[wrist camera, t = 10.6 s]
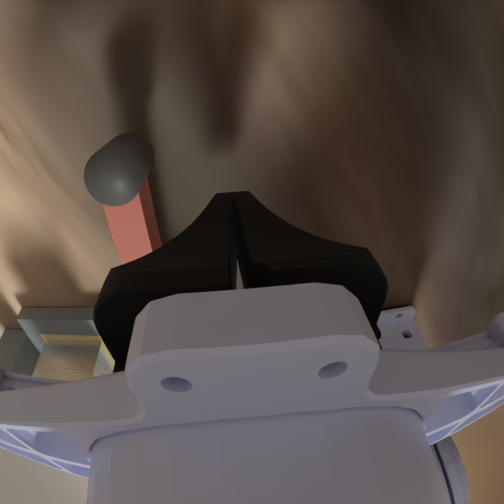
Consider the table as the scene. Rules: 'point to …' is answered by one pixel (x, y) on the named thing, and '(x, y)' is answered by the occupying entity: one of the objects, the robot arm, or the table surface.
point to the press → (43, 334)
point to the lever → (125, 194)
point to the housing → (73, 360)
